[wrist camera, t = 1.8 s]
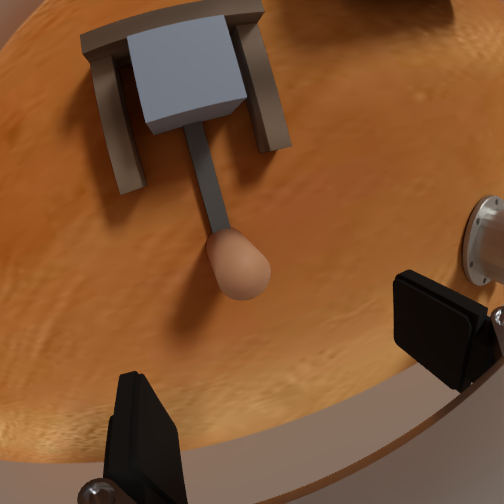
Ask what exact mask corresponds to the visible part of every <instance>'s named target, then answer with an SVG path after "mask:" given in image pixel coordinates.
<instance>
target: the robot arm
mask: <svg viewBox="0 0 504 504" xmlns="http://www.w3.org/2000/svg"><path fill="white" fill-rule="evenodd" d="M463 266H464V271H465V274H466V277H467V278H468V280H469V281H470V282H471V283H473V284H475V285H478V286H483V285H486V284H487V283H489V282H490V281H491V280H494V281H496V282H498V283H501V284H503V285H504V201H503V200H502V199H501V198H500V197H497V196H493V195H488V196H486V197H484V198H483V199H481V200H480V202H479V203H478V204H477V205H476V207H475V209H474V210H473V212H472V214H471V217H470V219H469V222H468V225H467V228H466V232H465V237H464V243H463ZM393 305H394V341H395V343H396V344H397V345H398V346H399V347H400V348H401V349H403V350H404V351H405V352H406V353H408V354H409V355H410V356H411V357H413V358H414V359H415V360H416V361H418V362H419V363H420V364H421V365H423V366H424V367H425V368H426V369H427V370H429V371H430V372H431V373H432V374H434V375H435V376H436V377H437V378H438V379H440V380H441V381H442V382H443V383H444V384H446V385H447V386H449V388H451V389H456V390H457V391H458V392H459V393H461V394H460V395H458V396H457V397H456V398H455V399H453V400H452V401H451V402H450V403H448V404H447V405H446V406H444V407H443V408H442V409H440V410H439V411H438V412H436V413H435V414H434V415H432V416H431V417H429V418H428V419H427V420H425V421H424V422H422V423H421V424H419V425H418V426H416V427H415V428H413V429H412V430H410V431H409V432H407V433H406V434H404V435H403V436H401V437H400V438H398V439H396V440H395V441H393V442H391V443H390V444H388V445H386V446H385V447H383V448H381V449H380V450H378V451H376V452H374V453H372V454H371V455H369V456H367V457H365V458H363V459H361V460H359V461H358V462H356V463H354V464H352V465H350V466H348V467H346V468H344V469H342V470H340V471H337V472H335V473H333V474H331V475H329V476H327V477H324V478H322V479H320V480H318V481H315V482H313V483H311V484H308V485H306V486H303V487H301V488H298V489H296V490H293V491H290V492H288V493H285V494H282V495H279V496H277V497H274V498H271V499H268V500H265V501H261V502H259V503H255V504H504V306H501V307H498V308H496V309H494V310H493V311H492V313H491V316H490V317H488V316H487V312H488V308H487V307H485V306H483V305H481V304H479V303H477V302H475V301H473V300H471V299H469V298H467V297H465V296H463V295H461V294H459V293H457V292H455V291H453V290H451V289H449V288H447V287H445V286H443V285H441V284H439V283H437V282H435V281H433V280H431V279H429V278H427V277H425V276H423V275H421V274H419V273H416V272H414V271H412V270H406V271H404V272H402V273H400V274H398V275H396V277H395V280H394V281H393ZM471 382H472V383H473V384H472V385H471ZM77 502H78V504H188V502H187V497H186V490H185V484H184V477H183V470H182V463H181V455H180V448H179V439H178V432H177V429H176V426H175V424H174V423H173V421H172V419H171V418H170V416H169V415H168V413H167V412H166V410H165V409H164V407H163V405H162V404H161V402H160V401H159V399H158V397H157V396H156V394H155V392H154V391H153V389H152V387H151V386H150V384H149V382H148V380H147V379H146V377H145V375H144V374H138V372H137V371H132V372H129V373H125V374H121V375H120V376H119V381H118V388H117V394H116V401H115V408H114V415H112V416H111V417H110V419H109V425H108V433H107V441H106V450H105V459H104V471H103V478H97V479H93V480H91V481H89V482H87V483H86V484H85V485H84V486H83V487H82V488H81V490H80V492H79V493H78V498H77Z"/></svg>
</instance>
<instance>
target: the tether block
mask: <svg viewBox="0 0 504 504" xmlns="http://www.w3.org/2000/svg"><path fill="white" fill-rule="evenodd" d="M127 40H128V45H129V51H130V56H131V61H132V65H133V70H134V75H135V79H136V84H137V88H138V93H139V97H140V101H141V106H142V110H143V114H144V118H145V122H146V124H147V126H148V127H149V129H150V130H151V132H152V133H153V135H156V134H160V133H163V132H166V131H170V130H173V129H176V128H180V127H183V128H184V132H185V136H186V139H187V143H188V147H189V151H190V154H191V158H192V162H193V165H194V169H195V173H196V176H197V180H198V184H199V187H200V191H201V194H202V198H203V201H204V205H205V208H206V212H207V215H208V219H209V222H210V226H211V229H212V233H211V234H210V235H209V237H208V239H207V242H206V252H207V255H208V258H209V261H210V263H211V266H212V269H213V271H214V274H215V277H216V279H217V282H218V285H219V287H220V289H221V290H222V292H223V293H224V294H225V295H227V296H228V297H230V298H232V299H235V300H249V299H252V298H255V297H256V296H258V295H259V294H261V293H262V292H263V291H264V290H265V288H266V287H267V285H268V283H269V280H270V275H271V270H270V265H269V263H268V261H267V259H266V258H265V257H264V256H263V255H262V254H261V253H260V252H259V251H258V250H257V249H256V248H255V247H254V246H253V245H252V244H251V243H250V242H249V241H248V240H247V239H246V238H245V237H244V236H243V235H242V234H241V233H240V232H239V231H238V230H236V229H234V228H232V227H230V224H229V221H228V217H227V213H226V210H225V206H224V202H223V199H222V195H221V191H220V188H219V184H218V180H217V177H216V173H215V169H214V165H213V162H212V158H211V154H210V150H209V147H208V143H207V139H206V135H205V132H204V128H203V124H202V121H206V120H210V119H214V118H218V117H222V116H227V115H230V114H231V113H232V112H233V111H234V110H235V109H236V108H237V107H238V106H239V105H240V104H241V103H242V102H243V101H244V100H245V99H246V98H247V95H246V91H245V87H244V84H243V80H242V76H241V73H240V69H239V66H238V62H237V59H236V55H235V52H234V48H233V45H232V41H231V38H230V34H229V31H228V28H227V24H226V21H225V18H224V15H218V16H212V17H206V18H200V19H194V20H189V21H184V22H180V23H175V24H171V25H167V26H162V27H158V28H155V29H151V30H147V31H144V32H140V33H137V34H133V35H130V36H127Z"/></svg>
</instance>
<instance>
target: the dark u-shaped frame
mask: <svg viewBox="0 0 504 504" xmlns="http://www.w3.org/2000/svg"><path fill="white" fill-rule="evenodd" d="M264 12H265V11H264V8H263V5H262V2H261V0H203V1H197V2H192V3H186V4H181V5H176V6H172V7H167V8H163V9H159V10H155V11H151V12H147V13H143V14H140V15H136V16H133V17H129V18H126V19H123V20H120V21H117V22H114V23H111V24H108V25H105V26H102V27H100V28H97V29H94V30H92V31H89V32H86V33H84V34H81V35H80V40H81V48H82V54H83V55H84V56H85V58H86V59H87V60H88V61H89V63H90V67H91V73H92V78H93V84H94V89H95V94H96V100H97V104H98V109H99V114H100V118H101V123H102V127H103V132H104V136H105V140H106V144H107V148H108V152H109V156H110V160H111V163H112V167H113V171H114V174H115V178H116V181H117V185H118V188H119V192H120V195H122V194H125V193H128V192H131V191H134V190H137V189H140V188H143V187H145V186H147V183H146V180H145V176H144V173H143V169H142V165H141V162H140V158H139V154H138V151H137V147H136V143H135V139H134V135H133V131H132V127H131V123H130V119H129V115H128V110H127V106H126V102H125V97H124V92H123V88H122V83H121V78H120V73H119V68H120V67H123V66H126V65H129V64H132V61H131V56H130V51H129V45H128V40H127V36H130V35H133V34H137V33H140V32H144V31H147V30H151V29H155V28H158V27H162V26H167V25H171V24H175V23H180V22H184V21H189V20H194V19H200V18H206V17H212V16H218V15H224V18H225V21H226V24H227V28H228V31H229V34H230V38H231V41H232V45H233V48H234V52H235V55H236V59H237V62H238V66H239V69H240V73H241V76H242V80H243V84H244V87H245V91H246V95H247V98H246V103H247V107H248V111H249V114H250V118H251V122H252V126H253V130H254V134H255V137H256V141H257V145H258V149H259V153H264V152H269V151H274V150H278V149H282V148H287V147H292V145H291V141H290V137H289V133H288V129H287V125H286V121H285V117H284V113H283V110H282V106H281V102H280V98H279V95H278V91H277V87H276V84H275V80H274V77H273V73H272V70H271V66H270V63H269V60H268V56H267V53H266V50H265V46H264V43H263V40H262V37H261V33H260V30H259V27H258V24H257V23H258V21H259V20H260V18H261V16H262V15H263V13H264Z"/></svg>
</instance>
